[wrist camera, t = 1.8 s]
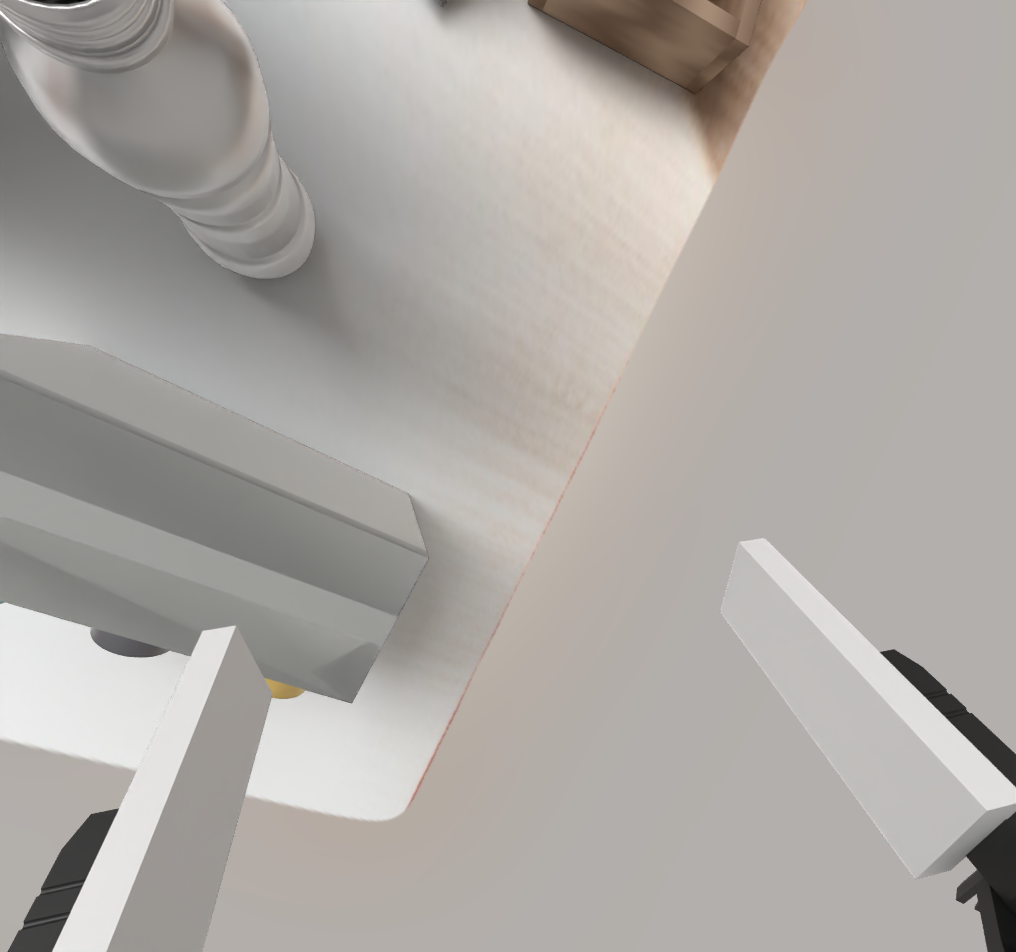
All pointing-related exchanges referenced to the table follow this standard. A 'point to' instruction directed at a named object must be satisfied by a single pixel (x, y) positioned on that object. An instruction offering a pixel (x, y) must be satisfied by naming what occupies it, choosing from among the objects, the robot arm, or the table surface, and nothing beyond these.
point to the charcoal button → (124, 645)
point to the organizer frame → (665, 32)
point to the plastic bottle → (168, 117)
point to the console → (192, 521)
